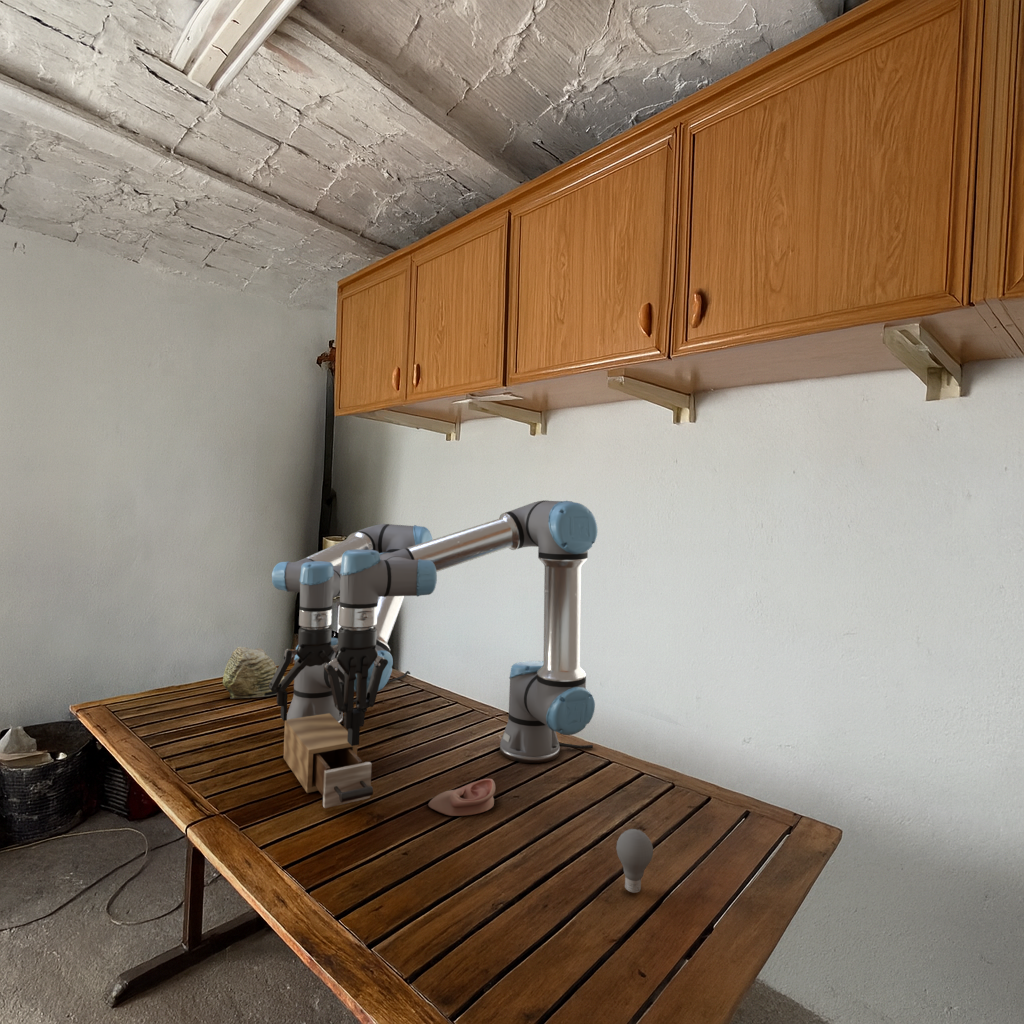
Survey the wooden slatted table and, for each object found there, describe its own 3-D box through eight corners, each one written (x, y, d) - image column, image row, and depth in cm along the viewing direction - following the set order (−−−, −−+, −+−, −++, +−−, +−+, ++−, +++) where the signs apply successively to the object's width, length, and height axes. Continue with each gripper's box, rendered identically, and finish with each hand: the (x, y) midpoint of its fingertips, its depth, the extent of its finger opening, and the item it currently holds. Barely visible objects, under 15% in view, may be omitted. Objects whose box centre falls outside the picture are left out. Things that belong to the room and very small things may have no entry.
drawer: (380, 809, 128) (381, 773, 127) (332, 820, 122) (334, 783, 122) (340, 763, 148) (342, 733, 148) (299, 772, 143) (300, 740, 143)
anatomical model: (423, 792, 129) (441, 769, 140) (422, 812, 129) (440, 787, 140) (487, 801, 126) (499, 777, 137) (486, 821, 126) (498, 795, 137)
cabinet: (356, 782, 141) (357, 741, 141) (306, 793, 135) (308, 749, 135) (328, 750, 158) (329, 713, 158) (283, 758, 152) (284, 719, 152)
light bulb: (610, 879, 108) (613, 822, 108) (644, 879, 109) (647, 822, 109) (619, 902, 102) (622, 840, 102) (655, 901, 103) (658, 840, 103)
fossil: (218, 695, 195) (220, 647, 195) (278, 685, 208) (279, 640, 207) (228, 703, 189) (230, 653, 188) (289, 692, 201) (290, 645, 201)
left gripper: (264, 634, 142) (261, 728, 142) (371, 625, 155) (368, 710, 156) (257, 627, 148) (254, 717, 149) (360, 619, 162) (357, 701, 162)
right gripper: (331, 633, 121) (326, 755, 121) (395, 627, 128) (390, 743, 128) (319, 625, 127) (315, 742, 127) (381, 621, 134) (377, 731, 135)
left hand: (312, 714), depth 152 cm, fingers open, 13 cm apart
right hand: (353, 742), depth 128 cm, fingers closed
